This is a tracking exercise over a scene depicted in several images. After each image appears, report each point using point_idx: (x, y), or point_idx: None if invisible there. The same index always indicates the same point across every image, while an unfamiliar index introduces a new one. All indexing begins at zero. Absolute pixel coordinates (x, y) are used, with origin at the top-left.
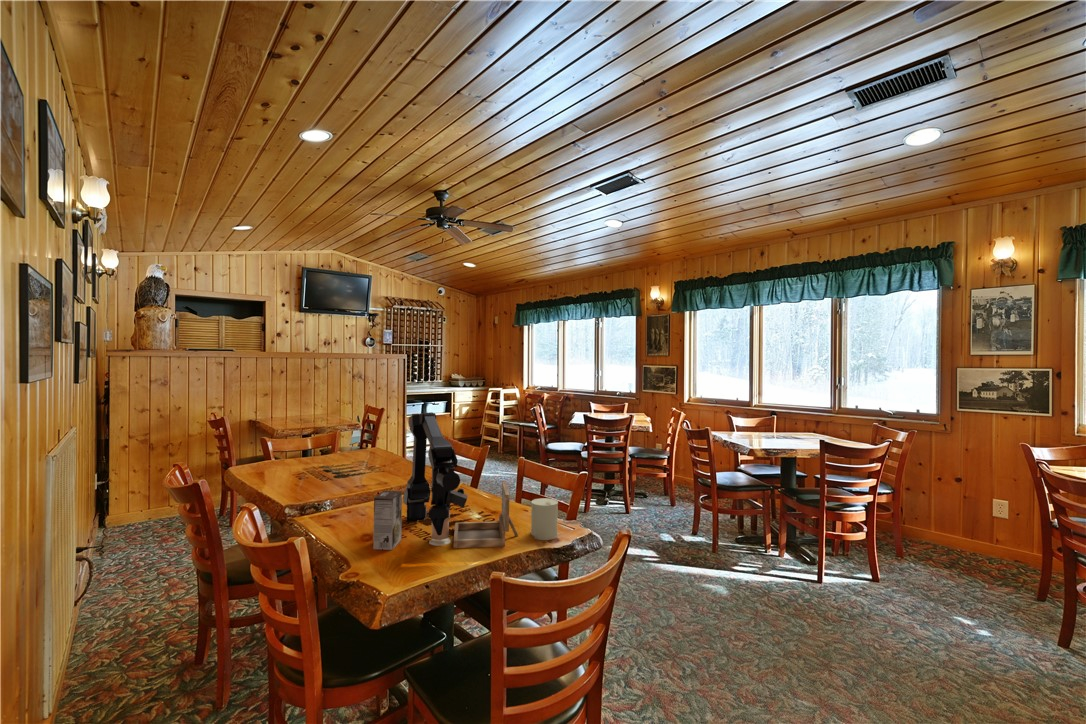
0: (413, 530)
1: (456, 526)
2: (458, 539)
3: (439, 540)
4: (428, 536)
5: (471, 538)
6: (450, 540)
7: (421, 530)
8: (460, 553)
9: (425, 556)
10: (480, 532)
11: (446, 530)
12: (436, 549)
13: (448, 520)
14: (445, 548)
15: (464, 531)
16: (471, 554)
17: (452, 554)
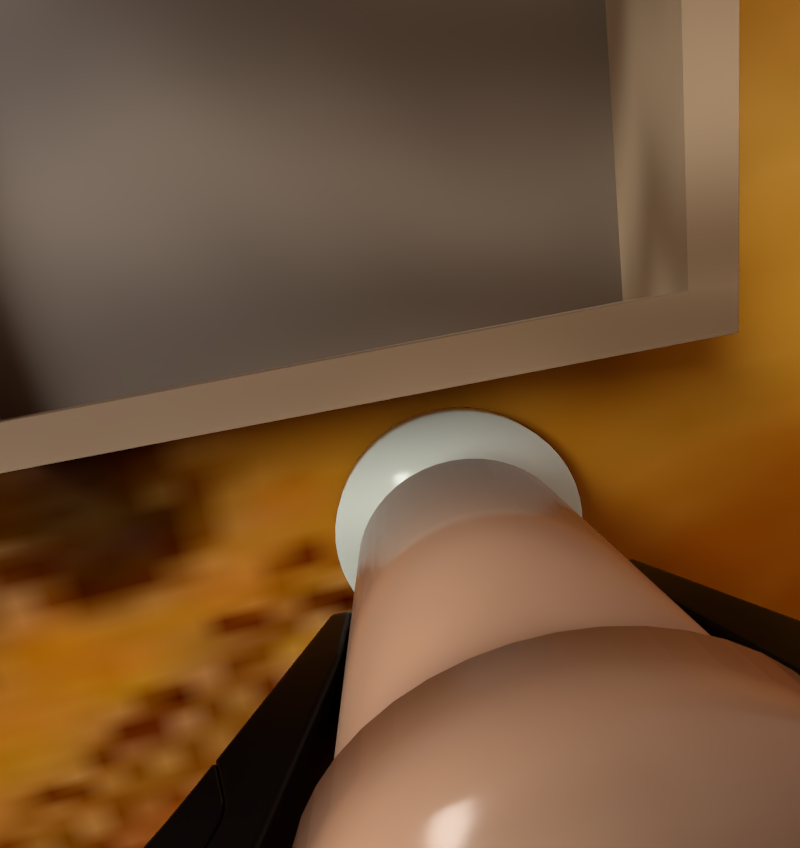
0: (107, 842)
1: (63, 438)
2: (690, 265)
3: None
4: (245, 681)
5: (308, 155)
6: (416, 427)
7: (87, 783)
8: (739, 229)
9: (782, 564)
10: (14, 49)
11: (582, 522)
12: (607, 515)
13: (615, 626)
14: (580, 434)
15: (44, 320)
16: (785, 76)
17: (759, 317)
